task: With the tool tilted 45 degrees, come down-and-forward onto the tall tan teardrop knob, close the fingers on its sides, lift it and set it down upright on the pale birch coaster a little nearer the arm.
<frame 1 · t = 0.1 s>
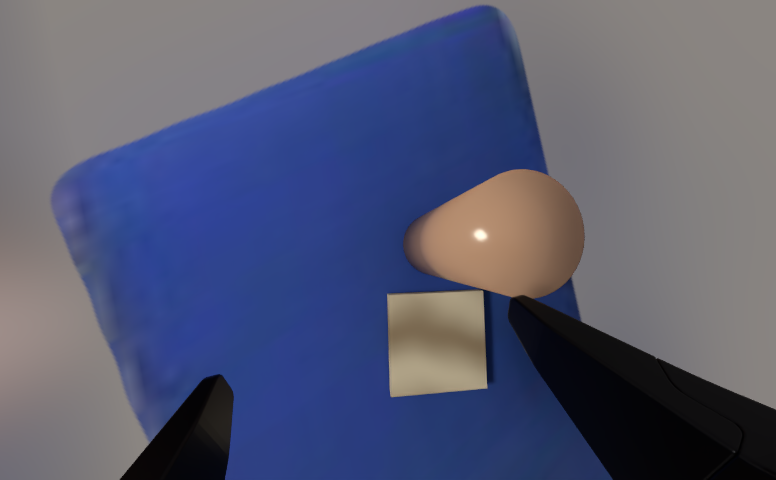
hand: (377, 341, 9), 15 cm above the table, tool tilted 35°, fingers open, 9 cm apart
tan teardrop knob: (433, 244, 24), on the table
coaster: (435, 339, 24), on the table
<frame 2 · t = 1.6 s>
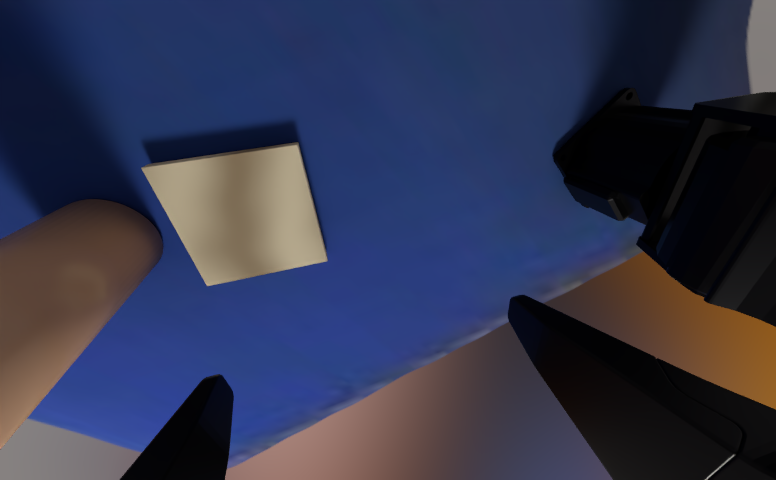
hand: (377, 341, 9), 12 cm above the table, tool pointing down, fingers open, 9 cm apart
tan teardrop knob: (111, 240, 17), on the table
coaster: (250, 216, 18), on the table
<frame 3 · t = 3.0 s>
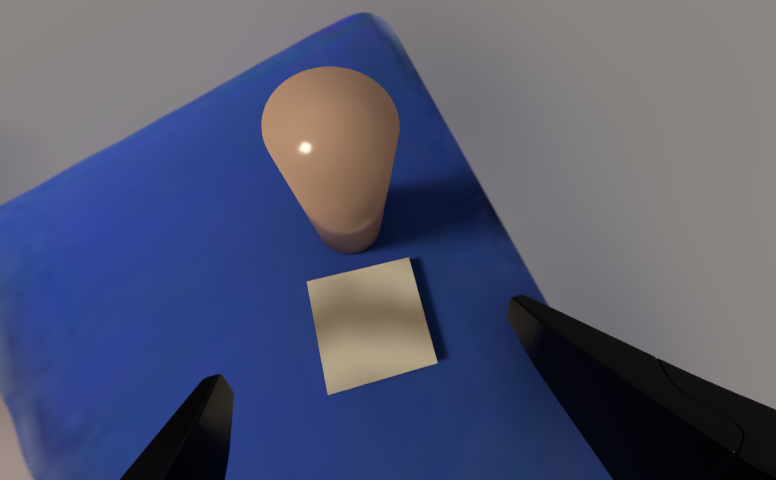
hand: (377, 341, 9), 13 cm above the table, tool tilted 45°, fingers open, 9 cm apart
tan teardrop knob: (349, 223, 23), on the table
coaster: (370, 321, 22), on the table
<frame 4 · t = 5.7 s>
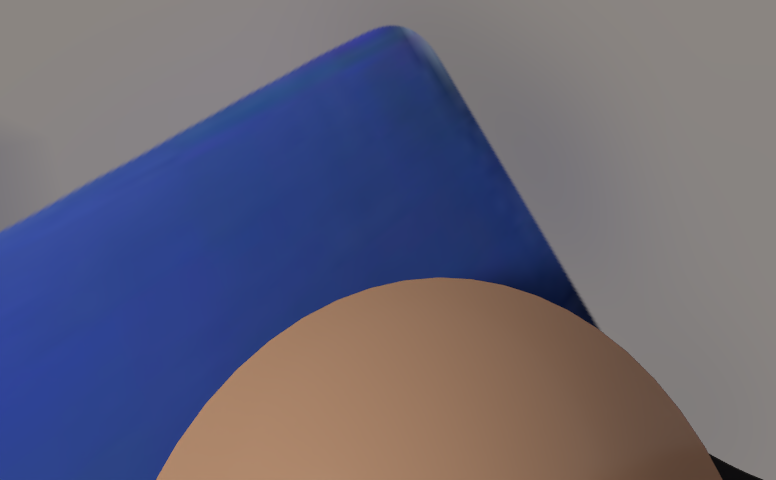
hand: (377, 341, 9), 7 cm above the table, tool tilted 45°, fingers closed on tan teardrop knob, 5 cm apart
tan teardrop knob: (377, 357, 15), on the table, touching gripper
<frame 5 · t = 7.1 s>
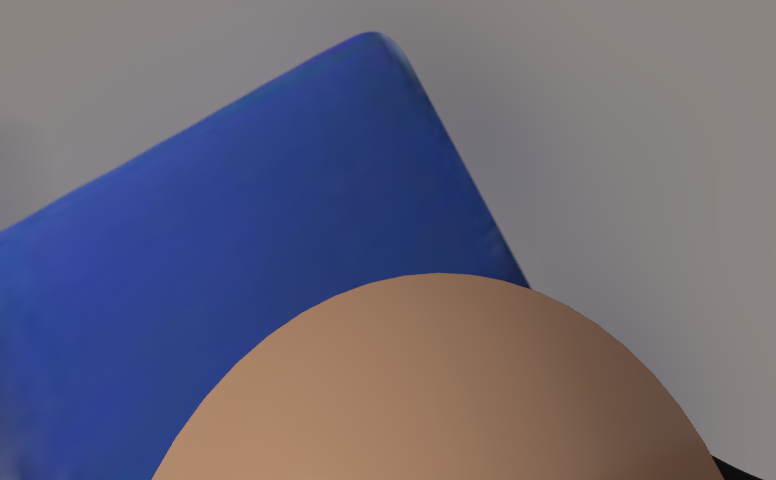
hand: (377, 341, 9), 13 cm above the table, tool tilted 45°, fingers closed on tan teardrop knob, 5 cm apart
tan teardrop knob: (377, 357, 15), point 6 cm above the table, touching gripper
when the fingers open (8 cm above the table, at t = 8.6 s): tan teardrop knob stays where it is, resting on coaster.
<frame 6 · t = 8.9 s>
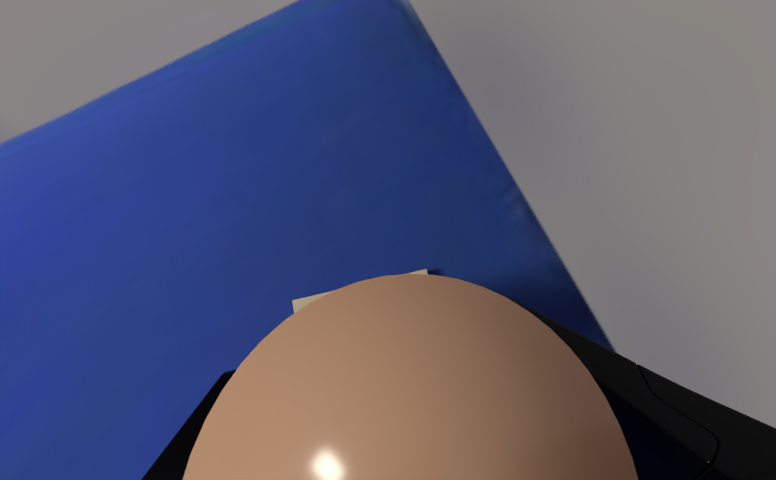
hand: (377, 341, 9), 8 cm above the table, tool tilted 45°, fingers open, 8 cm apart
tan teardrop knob: (377, 356, 16), point 1 cm above the table, touching coaster
coaster: (376, 353, 16), on the table
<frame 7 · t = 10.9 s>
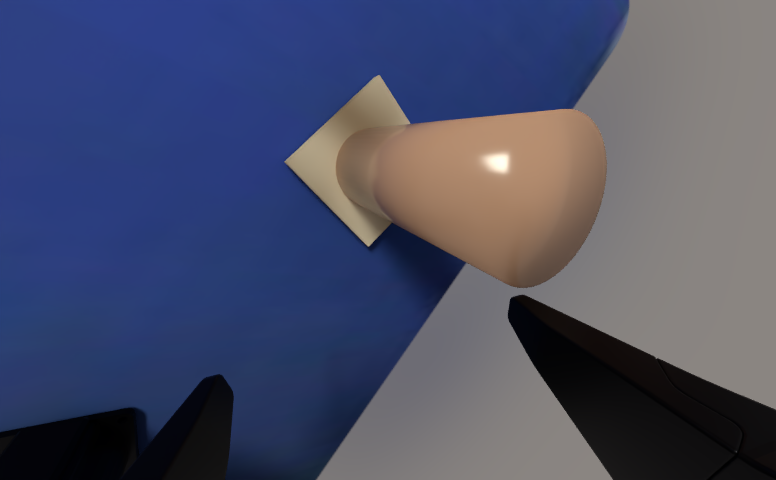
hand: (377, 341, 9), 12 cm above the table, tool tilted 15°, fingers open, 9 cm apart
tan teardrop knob: (372, 168, 19), point 1 cm above the table, touching coaster
coaster: (369, 167, 20), on the table
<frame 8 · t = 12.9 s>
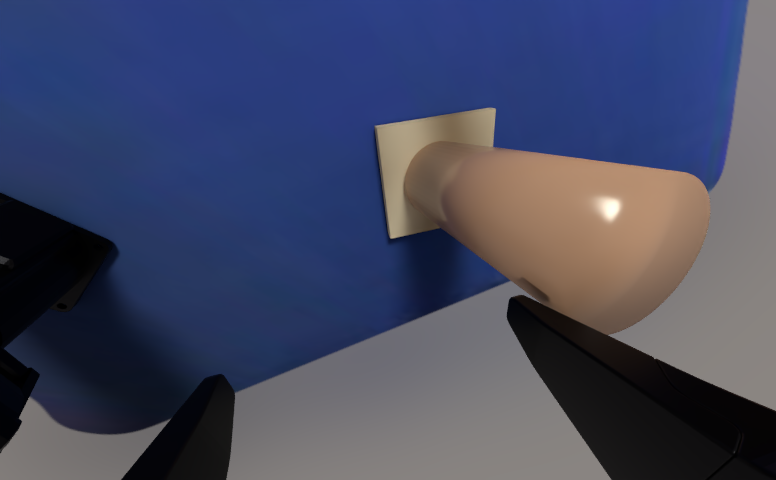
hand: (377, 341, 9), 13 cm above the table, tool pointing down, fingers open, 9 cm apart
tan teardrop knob: (440, 180, 20), point 1 cm above the table, tilted 7°, touching coaster, gripper
coaster: (435, 175, 21), on the table
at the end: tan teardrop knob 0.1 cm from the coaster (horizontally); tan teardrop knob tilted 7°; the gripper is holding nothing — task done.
